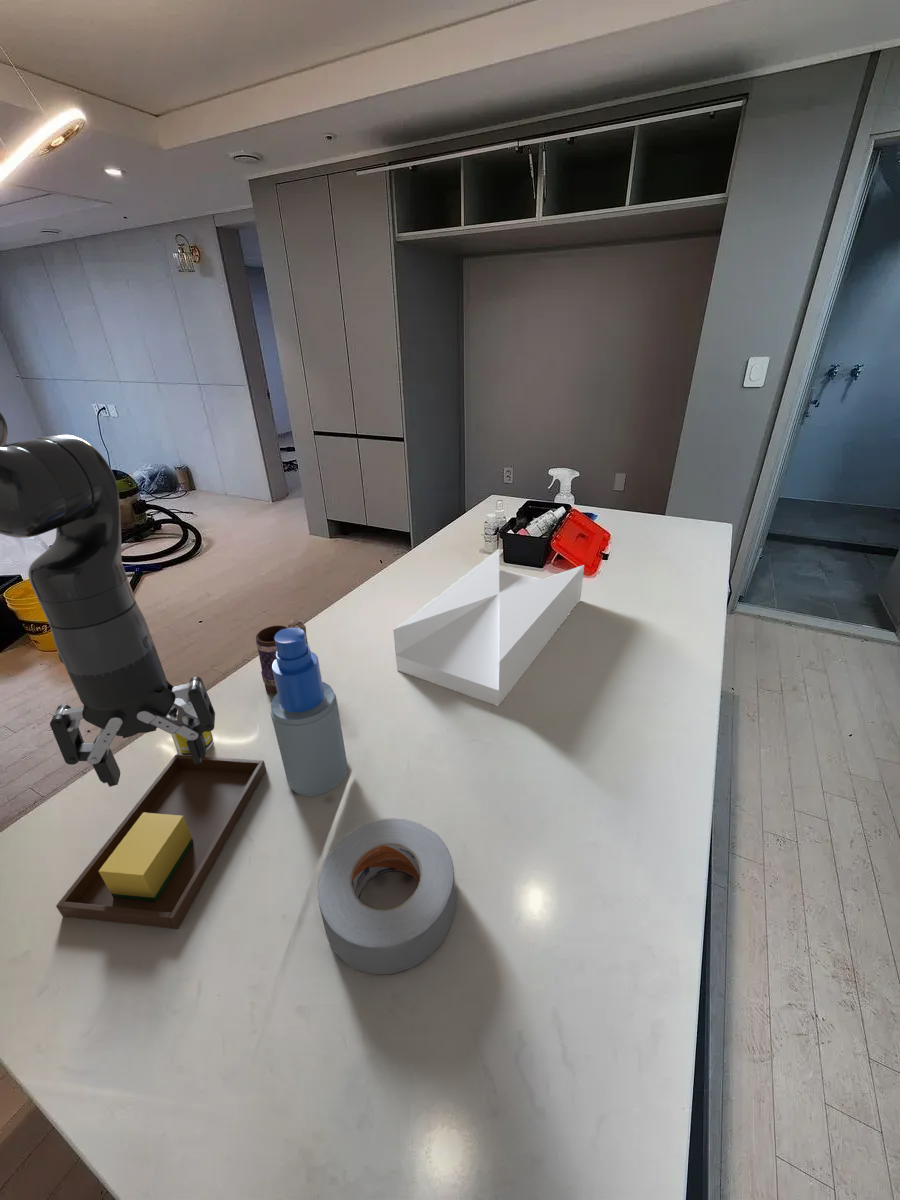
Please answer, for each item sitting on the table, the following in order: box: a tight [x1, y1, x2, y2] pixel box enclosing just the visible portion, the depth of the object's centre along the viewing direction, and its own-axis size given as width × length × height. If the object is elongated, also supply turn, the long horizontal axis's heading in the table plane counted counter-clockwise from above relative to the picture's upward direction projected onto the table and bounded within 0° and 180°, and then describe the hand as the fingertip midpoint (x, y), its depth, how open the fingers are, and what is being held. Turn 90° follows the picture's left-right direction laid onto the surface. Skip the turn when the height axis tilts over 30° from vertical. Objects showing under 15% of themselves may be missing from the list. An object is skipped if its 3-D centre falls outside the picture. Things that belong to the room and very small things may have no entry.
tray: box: [55, 754, 267, 930], centre depth 67 cm, size 14×23×3 cm, turn 174°
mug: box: [255, 618, 309, 697], centre depth 95 cm, size 10×7×12 cm
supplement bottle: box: [167, 698, 214, 756], centre depth 80 cm, size 5×5×10 cm
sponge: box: [99, 813, 193, 902], centre depth 62 cm, size 6×8×5 cm
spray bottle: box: [270, 627, 349, 797], centre depth 71 cm, size 9×9×25 cm
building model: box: [392, 548, 585, 707], centre depth 109 cm, size 45×22×10 cm, turn 149°
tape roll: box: [317, 817, 457, 975], centre depth 58 cm, size 15×15×5 cm
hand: (157, 769), depth 58 cm, fingers open, 8 cm apart
